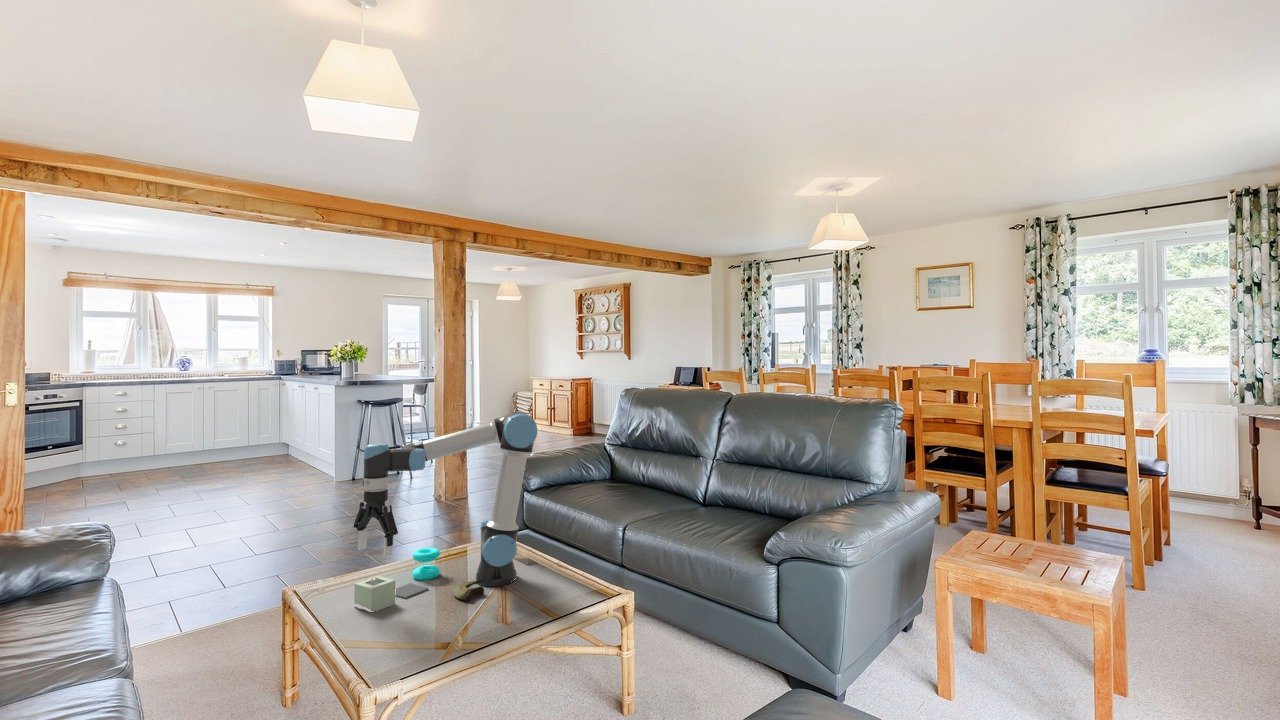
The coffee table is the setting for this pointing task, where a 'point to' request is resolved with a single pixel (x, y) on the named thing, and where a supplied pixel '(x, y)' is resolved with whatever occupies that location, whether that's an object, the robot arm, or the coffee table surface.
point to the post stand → (374, 581)
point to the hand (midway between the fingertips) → (374, 552)
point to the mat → (409, 590)
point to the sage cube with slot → (375, 593)
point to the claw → (468, 591)
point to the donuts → (426, 570)
